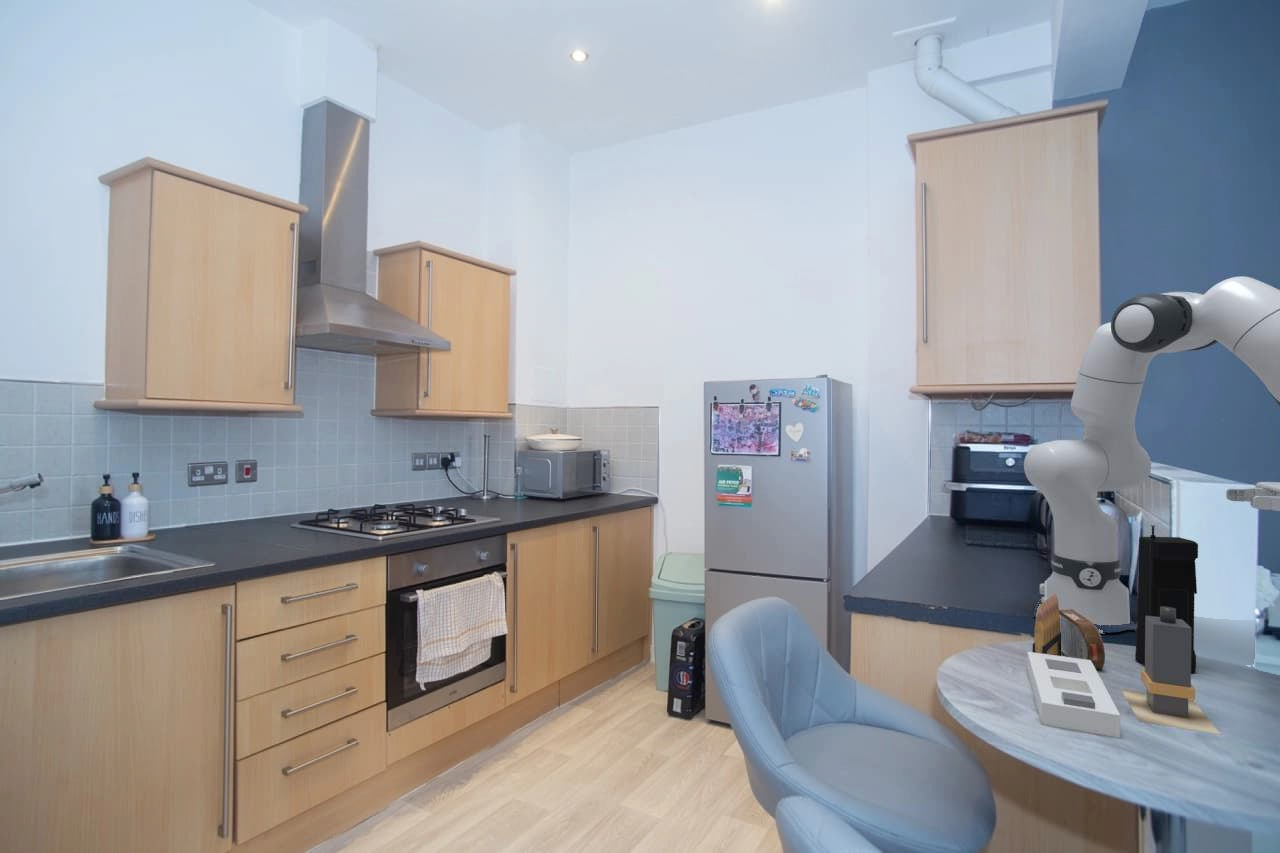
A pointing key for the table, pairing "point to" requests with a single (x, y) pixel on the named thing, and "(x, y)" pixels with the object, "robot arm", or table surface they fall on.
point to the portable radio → (1165, 584)
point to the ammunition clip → (1047, 628)
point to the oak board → (1145, 714)
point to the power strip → (1076, 686)
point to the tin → (1081, 638)
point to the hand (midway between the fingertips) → (1239, 498)
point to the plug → (1168, 663)
